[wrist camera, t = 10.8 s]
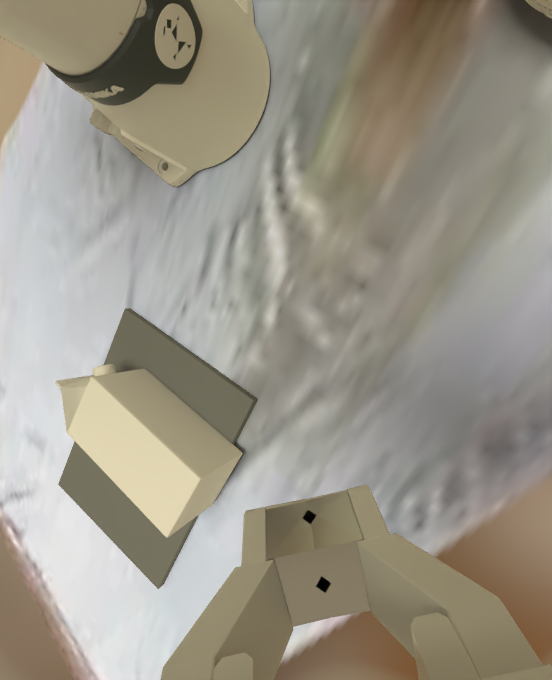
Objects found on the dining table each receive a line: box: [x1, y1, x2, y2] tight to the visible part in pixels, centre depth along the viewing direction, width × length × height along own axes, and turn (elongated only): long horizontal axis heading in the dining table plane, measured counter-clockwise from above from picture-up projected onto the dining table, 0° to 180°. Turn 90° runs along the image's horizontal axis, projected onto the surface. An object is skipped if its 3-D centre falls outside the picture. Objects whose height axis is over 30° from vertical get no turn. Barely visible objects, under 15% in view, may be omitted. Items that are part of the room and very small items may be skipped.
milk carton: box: [55, 364, 243, 538], centre depth 40 cm, size 7×7×19 cm
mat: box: [59, 309, 257, 589], centre depth 45 cm, size 19×26×1 cm
